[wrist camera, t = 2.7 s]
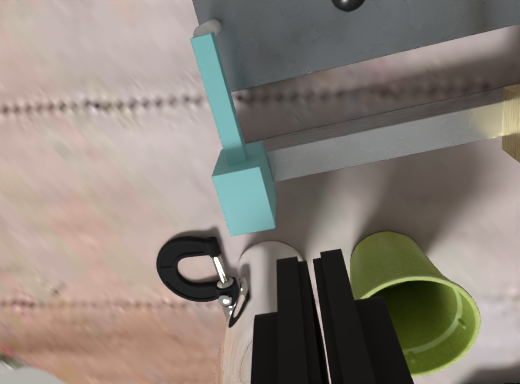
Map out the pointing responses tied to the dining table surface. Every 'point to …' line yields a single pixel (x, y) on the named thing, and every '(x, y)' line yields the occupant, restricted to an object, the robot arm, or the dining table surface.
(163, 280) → the black c clamp
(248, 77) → the hole plate
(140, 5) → the dining table surface
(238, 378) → the beer glass
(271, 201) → the sliding leg
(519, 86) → the fixed leg
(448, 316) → the plant pot
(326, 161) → the rail
